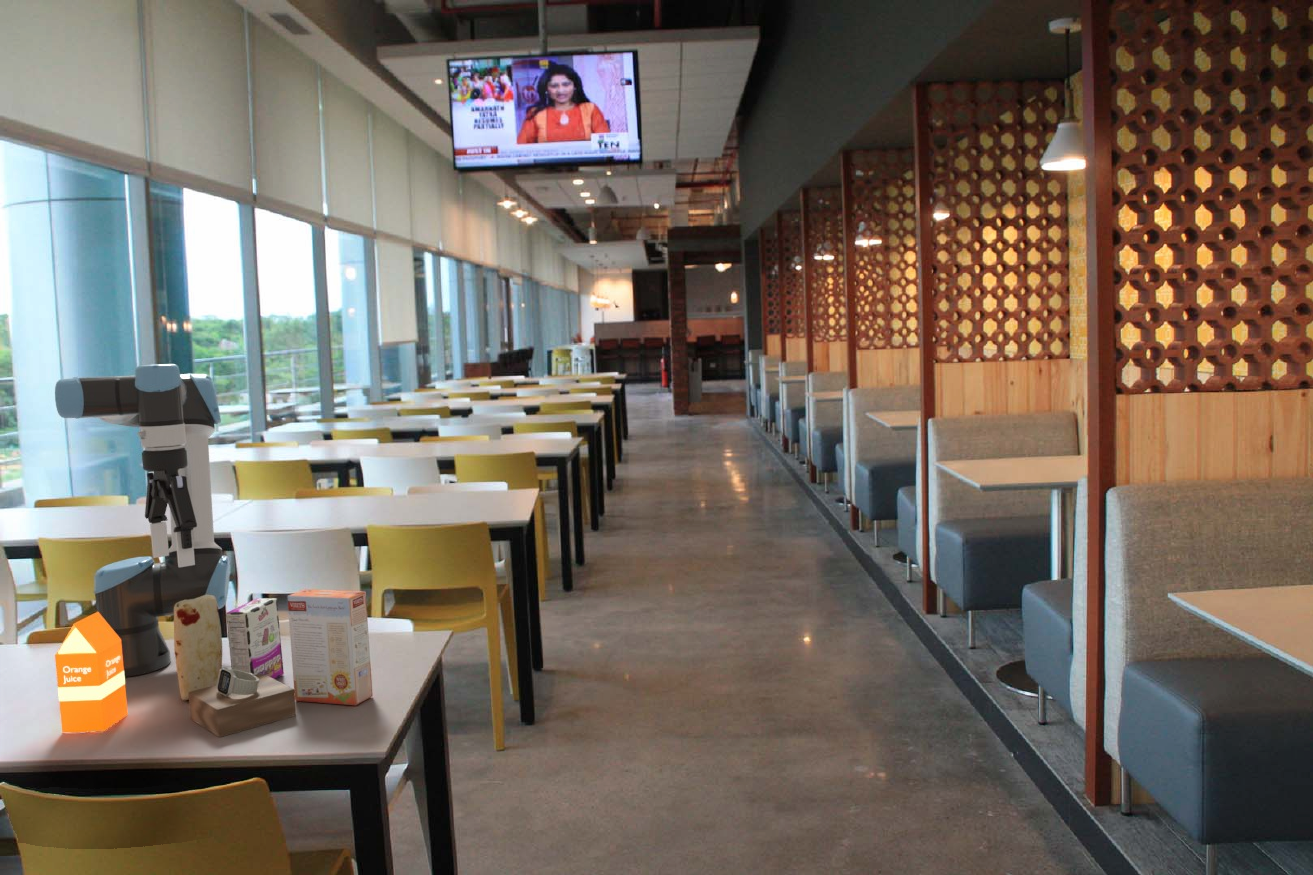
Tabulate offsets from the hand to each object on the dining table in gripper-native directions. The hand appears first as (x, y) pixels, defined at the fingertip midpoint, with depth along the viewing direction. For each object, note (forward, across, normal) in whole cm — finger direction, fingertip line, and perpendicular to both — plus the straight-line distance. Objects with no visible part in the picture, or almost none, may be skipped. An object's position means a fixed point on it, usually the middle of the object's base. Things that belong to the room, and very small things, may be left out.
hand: (173, 561), depth 196 cm
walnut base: (+29, +12, +6) cm, 32 cm away
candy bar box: (+29, -5, +16) cm, 33 cm away
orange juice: (+29, -6, -14) cm, 33 cm away
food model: (+29, -6, +5) cm, 30 cm away
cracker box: (+29, +16, +22) cm, 40 cm away
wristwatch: (+24, +12, +6) cm, 27 cm away
